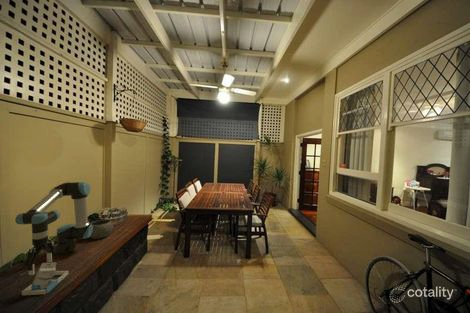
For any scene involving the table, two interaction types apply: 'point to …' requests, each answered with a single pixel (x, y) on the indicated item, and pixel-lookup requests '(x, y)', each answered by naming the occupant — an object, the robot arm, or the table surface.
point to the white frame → (51, 286)
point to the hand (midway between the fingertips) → (41, 267)
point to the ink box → (44, 276)
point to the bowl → (101, 228)
